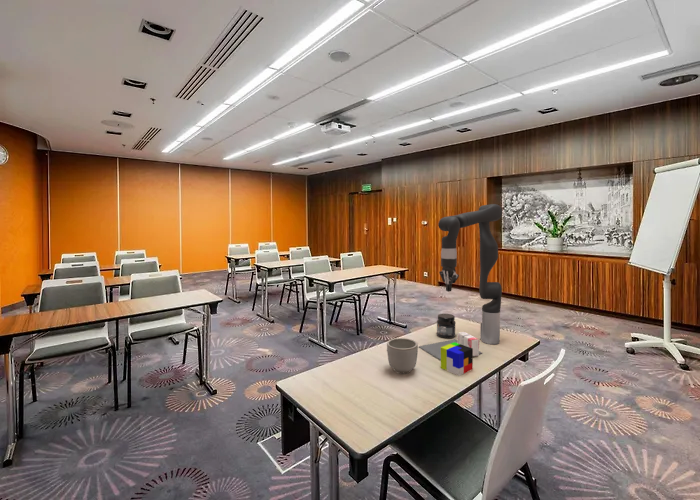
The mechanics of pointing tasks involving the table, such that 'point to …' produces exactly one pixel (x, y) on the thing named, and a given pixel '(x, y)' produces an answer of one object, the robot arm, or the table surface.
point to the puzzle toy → (456, 358)
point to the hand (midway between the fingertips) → (448, 291)
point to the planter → (402, 354)
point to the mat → (437, 348)
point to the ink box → (468, 342)
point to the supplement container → (446, 326)
